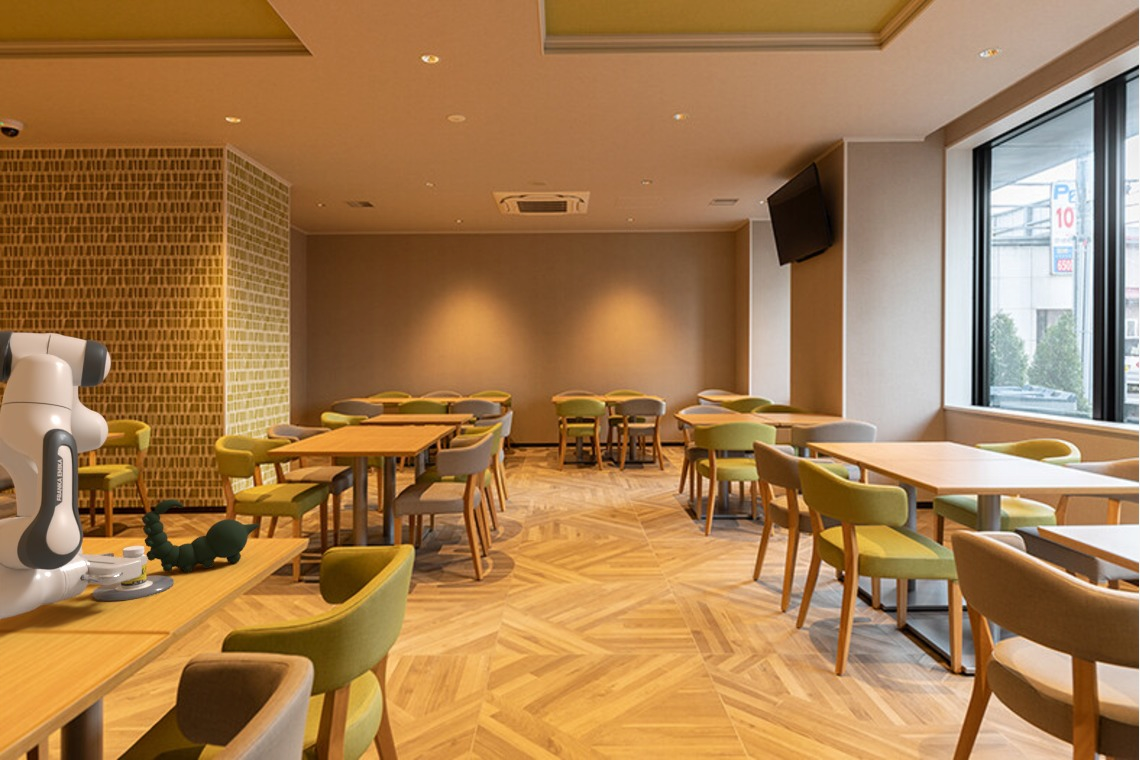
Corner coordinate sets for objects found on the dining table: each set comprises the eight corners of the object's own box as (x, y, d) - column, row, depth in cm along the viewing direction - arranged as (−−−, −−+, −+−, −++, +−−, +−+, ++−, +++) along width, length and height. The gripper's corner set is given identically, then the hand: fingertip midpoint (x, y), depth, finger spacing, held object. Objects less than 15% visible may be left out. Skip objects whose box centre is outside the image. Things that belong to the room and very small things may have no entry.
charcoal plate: (75, 597, 144) (75, 593, 144) (138, 576, 158) (138, 572, 158) (129, 604, 139) (129, 599, 139) (189, 581, 154) (189, 578, 154)
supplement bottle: (133, 589, 146) (132, 551, 146) (115, 588, 147) (115, 550, 147) (151, 582, 150) (151, 545, 150) (134, 581, 151) (133, 544, 151)
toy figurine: (152, 588, 155) (267, 559, 169) (141, 508, 153) (258, 486, 168) (148, 578, 162) (258, 551, 177) (138, 501, 161) (250, 481, 176)
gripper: (103, 564, 131) (164, 546, 144) (27, 557, 137) (93, 540, 150) (104, 596, 131) (165, 575, 144) (28, 588, 137) (93, 568, 150)
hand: (128, 557), depth 147 cm, fingers open, 8 cm apart
